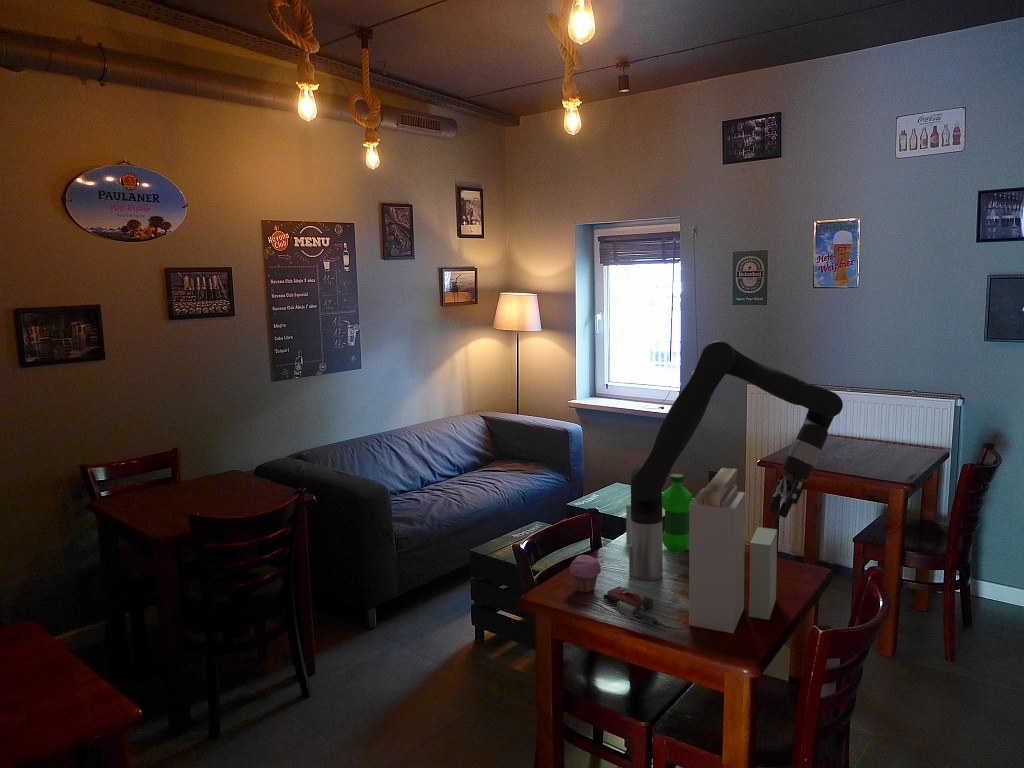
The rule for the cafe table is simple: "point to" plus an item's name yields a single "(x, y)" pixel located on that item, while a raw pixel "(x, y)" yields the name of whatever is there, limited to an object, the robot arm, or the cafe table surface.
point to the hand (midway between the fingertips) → (776, 514)
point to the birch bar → (719, 486)
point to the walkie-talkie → (630, 602)
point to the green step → (762, 573)
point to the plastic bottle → (676, 515)
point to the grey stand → (716, 562)
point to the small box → (628, 523)
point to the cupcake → (585, 572)
